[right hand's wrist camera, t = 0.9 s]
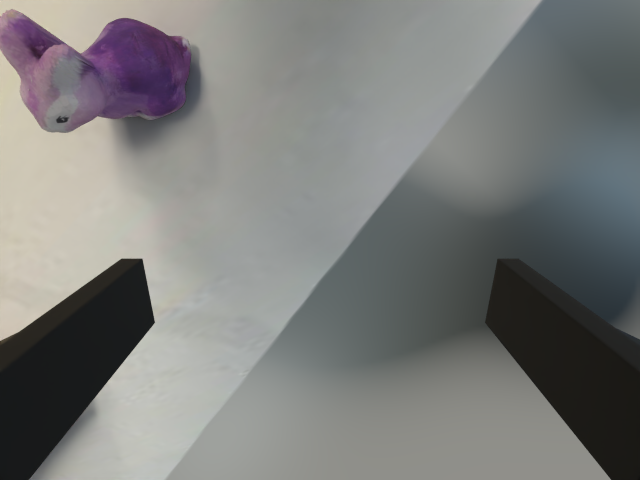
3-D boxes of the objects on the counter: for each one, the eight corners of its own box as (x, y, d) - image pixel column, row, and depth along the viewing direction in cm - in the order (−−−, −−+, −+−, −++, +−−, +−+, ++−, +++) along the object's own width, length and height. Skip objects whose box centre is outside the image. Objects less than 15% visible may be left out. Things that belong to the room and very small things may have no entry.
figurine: (102, 125, 36) (-35, 129, 22) (102, 17, 33) (-60, -58, 19) (190, 144, 37) (111, 160, 23) (199, 40, 34) (112, -16, 20)
